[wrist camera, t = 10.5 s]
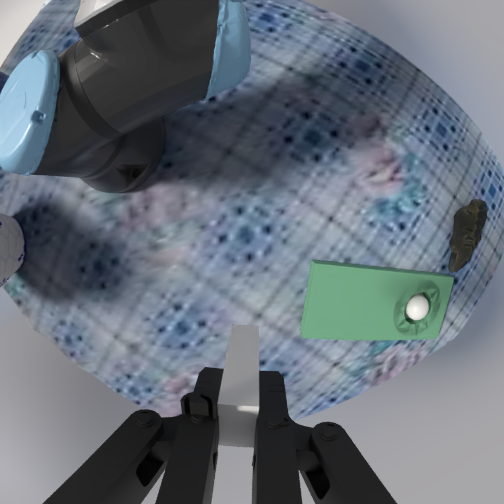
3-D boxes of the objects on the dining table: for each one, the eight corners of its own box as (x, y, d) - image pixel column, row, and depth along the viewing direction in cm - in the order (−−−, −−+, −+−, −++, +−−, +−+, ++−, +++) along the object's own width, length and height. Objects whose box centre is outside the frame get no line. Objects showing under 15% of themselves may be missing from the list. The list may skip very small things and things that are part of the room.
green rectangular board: (299, 330, 40) (301, 337, 37) (311, 259, 38) (314, 263, 35) (430, 332, 39) (436, 338, 37) (445, 273, 37) (454, 277, 35)
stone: (434, 263, 38) (452, 271, 32) (457, 190, 35) (476, 191, 30) (458, 275, 38) (475, 283, 33) (479, 207, 35) (497, 209, 30)
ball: (405, 292, 37) (428, 292, 34) (408, 297, 40) (430, 297, 37) (402, 318, 36) (426, 318, 33) (406, 321, 38) (428, 321, 36)
